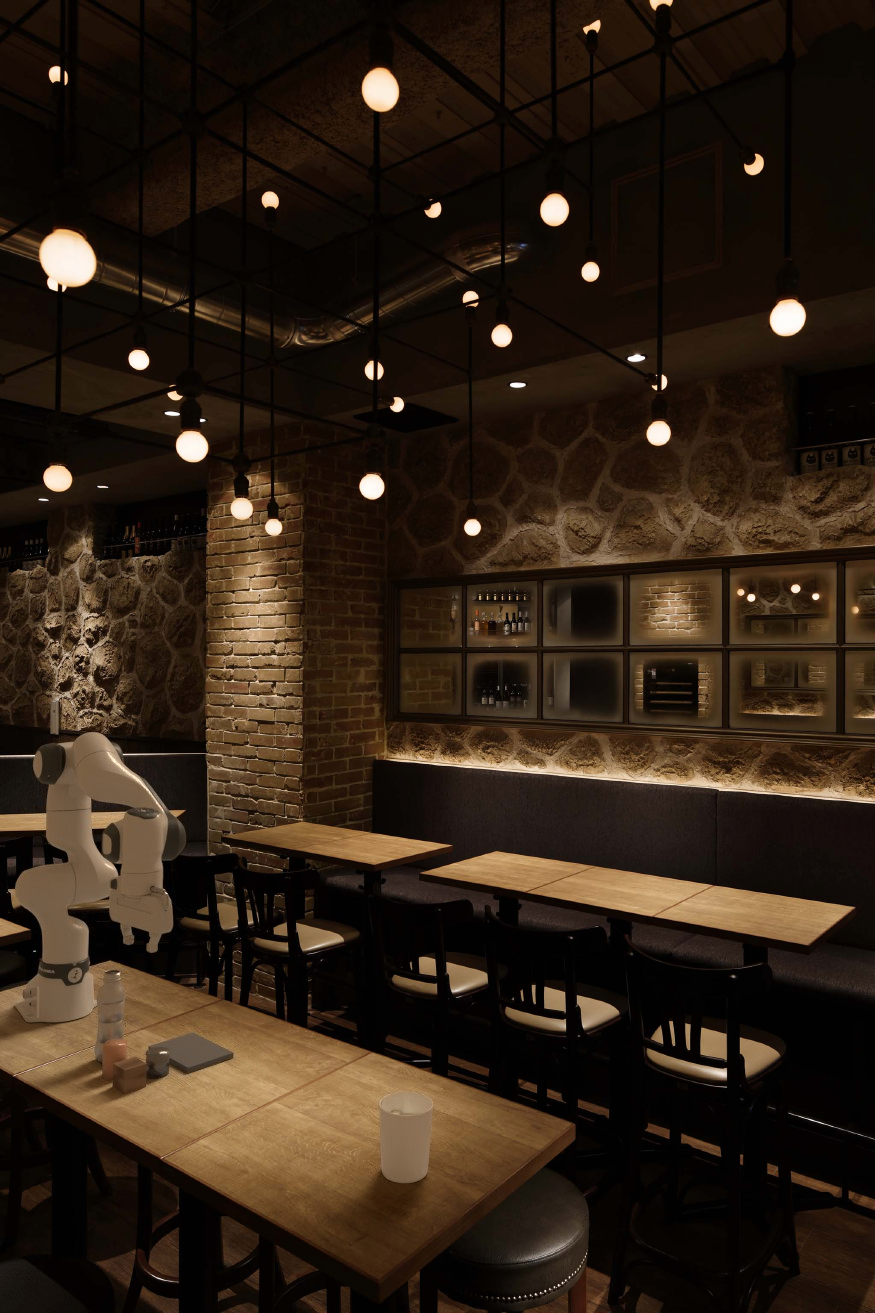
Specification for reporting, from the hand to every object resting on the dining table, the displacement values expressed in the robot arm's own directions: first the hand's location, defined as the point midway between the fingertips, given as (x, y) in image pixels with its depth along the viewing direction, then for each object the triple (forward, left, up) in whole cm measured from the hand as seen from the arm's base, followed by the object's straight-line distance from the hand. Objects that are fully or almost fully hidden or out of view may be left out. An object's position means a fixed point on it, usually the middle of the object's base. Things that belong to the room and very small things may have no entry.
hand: (140, 947), depth 194 cm
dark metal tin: (-1, +6, -29) cm, 29 cm away
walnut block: (+1, -2, -29) cm, 29 cm away
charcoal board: (-5, +17, -29) cm, 34 cm away
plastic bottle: (-15, +2, -29) cm, 33 cm away
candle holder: (+66, +16, -29) cm, 74 cm away
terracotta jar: (-7, -1, -29) cm, 30 cm away
